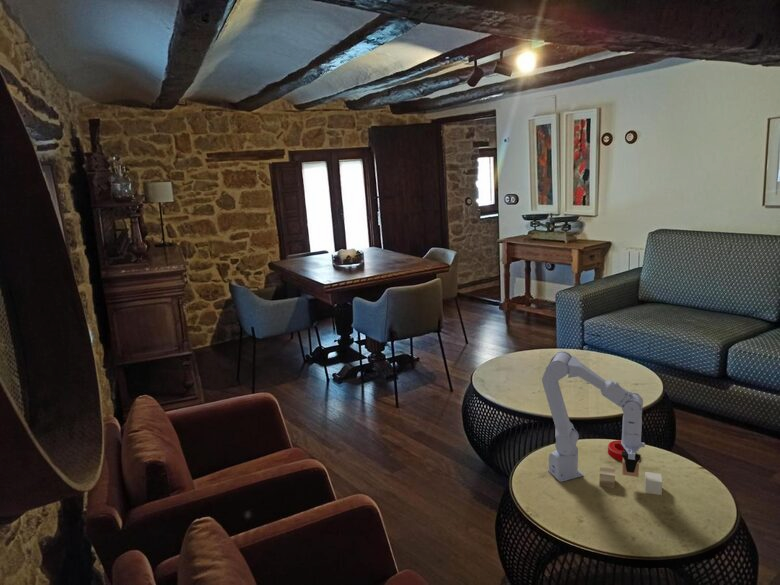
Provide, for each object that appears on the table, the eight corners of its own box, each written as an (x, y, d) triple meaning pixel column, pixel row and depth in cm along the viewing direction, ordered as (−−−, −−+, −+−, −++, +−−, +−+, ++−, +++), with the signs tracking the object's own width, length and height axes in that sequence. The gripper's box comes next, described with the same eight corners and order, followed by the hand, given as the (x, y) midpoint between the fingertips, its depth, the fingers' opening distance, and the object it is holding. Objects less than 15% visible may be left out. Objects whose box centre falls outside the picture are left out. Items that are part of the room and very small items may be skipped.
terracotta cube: (638, 477, 176) (638, 464, 175) (622, 474, 178) (622, 461, 177) (637, 468, 180) (638, 456, 179) (622, 466, 182) (622, 454, 181)
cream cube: (661, 495, 175) (662, 482, 174) (645, 492, 177) (645, 480, 176) (660, 486, 179) (661, 474, 178) (644, 484, 181) (645, 471, 180)
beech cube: (614, 488, 180) (615, 475, 179) (599, 485, 182) (599, 473, 181) (614, 480, 185) (615, 467, 183) (599, 477, 186) (600, 465, 185)
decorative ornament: (608, 460, 196) (608, 452, 196) (607, 446, 205) (607, 438, 204) (637, 463, 193) (637, 455, 192) (634, 448, 202) (635, 441, 201)
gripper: (646, 443, 167) (644, 481, 171) (644, 421, 180) (642, 457, 184) (621, 440, 170) (620, 478, 174) (621, 418, 183) (620, 454, 186)
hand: (630, 467), depth 179 cm, fingers closed on terracotta cube, 5 cm apart
